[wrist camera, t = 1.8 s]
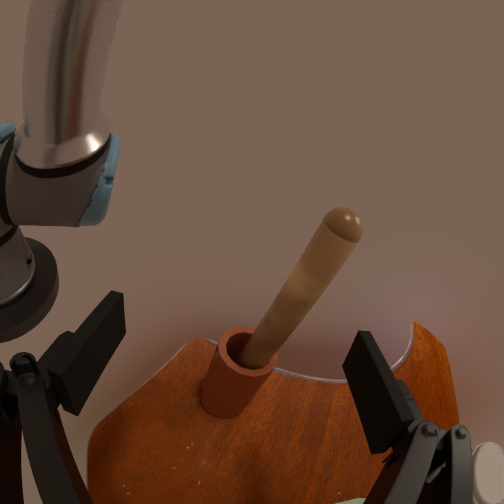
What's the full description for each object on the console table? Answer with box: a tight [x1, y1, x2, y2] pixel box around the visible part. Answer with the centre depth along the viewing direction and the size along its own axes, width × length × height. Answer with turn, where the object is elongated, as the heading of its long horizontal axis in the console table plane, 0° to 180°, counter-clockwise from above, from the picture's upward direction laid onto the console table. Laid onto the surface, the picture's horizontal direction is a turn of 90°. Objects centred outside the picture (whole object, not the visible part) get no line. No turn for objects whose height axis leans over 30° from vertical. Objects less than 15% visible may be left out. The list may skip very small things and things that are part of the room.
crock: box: [200, 327, 278, 418], centre depth 26 cm, size 5×6×10 cm
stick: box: [234, 207, 363, 370], centre depth 21 cm, size 2×2×24 cm
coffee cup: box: [472, 442, 504, 504], centre depth 15 cm, size 9×9×12 cm
